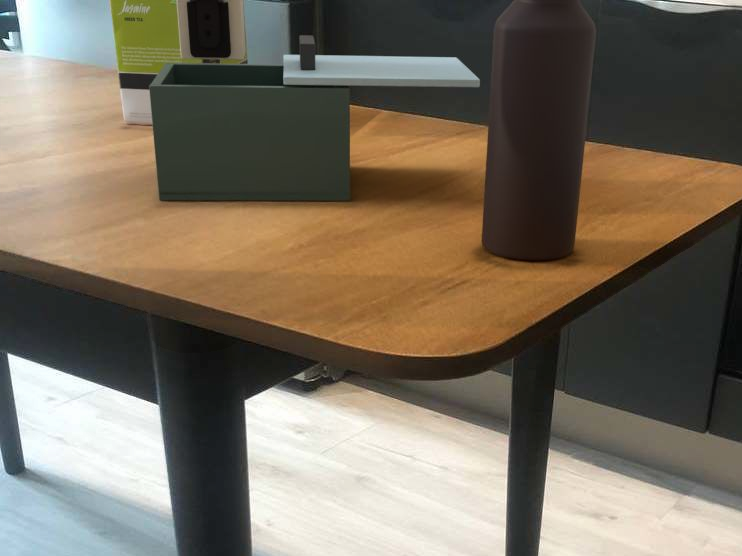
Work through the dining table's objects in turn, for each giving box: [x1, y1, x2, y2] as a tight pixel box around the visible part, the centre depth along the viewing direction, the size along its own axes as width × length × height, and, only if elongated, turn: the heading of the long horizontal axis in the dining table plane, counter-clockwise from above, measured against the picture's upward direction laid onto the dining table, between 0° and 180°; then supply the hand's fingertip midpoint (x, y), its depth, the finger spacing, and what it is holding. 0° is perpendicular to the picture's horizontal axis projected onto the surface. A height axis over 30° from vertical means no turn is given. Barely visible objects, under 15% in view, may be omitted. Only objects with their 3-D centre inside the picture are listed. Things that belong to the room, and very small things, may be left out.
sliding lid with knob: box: [282, 34, 481, 88], centre depth 91 cm, size 16×14×3 cm
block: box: [177, 0, 246, 60], centre depth 89 cm, size 5×5×5 cm
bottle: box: [481, 0, 597, 262], centre depth 74 cm, size 7×7×20 cm
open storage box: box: [149, 63, 351, 202], centre depth 93 cm, size 16×14×9 cm
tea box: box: [108, 0, 249, 126], centre depth 119 cm, size 15×10×15 cm
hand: (212, 49), depth 90 cm, fingers closed on block, 5 cm apart
